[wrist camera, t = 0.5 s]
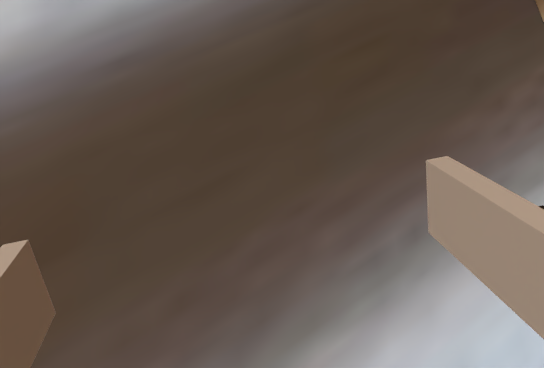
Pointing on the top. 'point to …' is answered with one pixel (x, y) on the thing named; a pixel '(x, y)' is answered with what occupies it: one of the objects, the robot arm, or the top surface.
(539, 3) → the pedestal base
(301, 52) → the top surface
